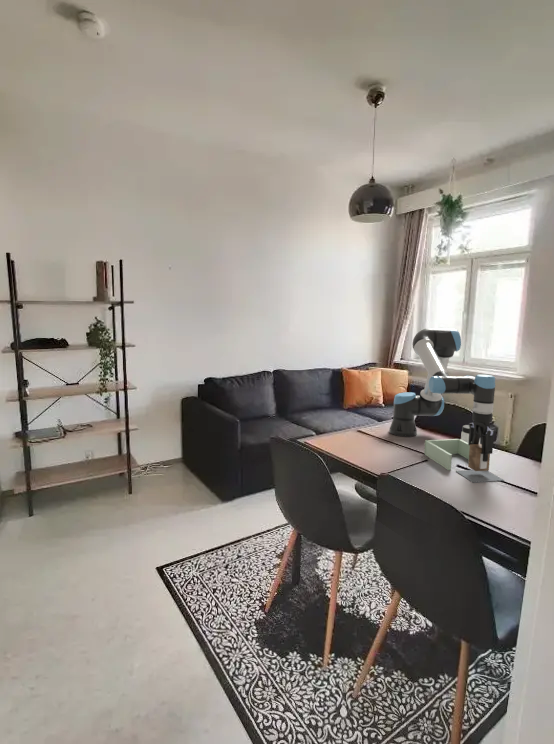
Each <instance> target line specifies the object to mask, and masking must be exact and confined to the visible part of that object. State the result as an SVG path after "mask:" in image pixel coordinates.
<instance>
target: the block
mask: <svg viewBox="0 0 554 744" xmlns="http://www.w3.org/2000/svg"><path fill="white" fill-rule="evenodd" d="M481 452H482V445H481V443H480V444H470V449H469V459H468V466H467V467H468V468H469V469H470V470H474V471H489V470H490V458H491V457H490V456H491V454H488V461H487V469H480V454H481ZM489 472H490V471H489Z"/></svg>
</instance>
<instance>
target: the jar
mask: <svg viewBox="0 0 554 744" xmlns="http://www.w3.org/2000/svg"><path fill="white" fill-rule="evenodd" d="M469 429H470V428H469V424H465V425H462V428H461V430H462V431H461V436H460V439H461V440H463V441H465V442H467V443H468V441H469ZM471 443H472V442H471ZM479 444H481V439H480V440H479Z"/></svg>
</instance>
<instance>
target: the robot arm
mask: <svg viewBox="0 0 554 744" xmlns="http://www.w3.org/2000/svg"><path fill="white" fill-rule="evenodd" d="M461 346H462V338H461V334H460V332H459V330H458V329H456V328H449V327H447V328H445V327H442V328H433V327H431V328H429V327H427V328H424V329H420V331H418V332H417V333H416V334H415V335H414V337H413V339H412V348H413V351H414V352H415V353H414V354H416V355H417V356H418V357H419V359H420V360H421V363H422V364H423V366H424V369H425V370H426V372H427V377H426V380H425V384H424V389H422V390H420V393H419V395H418V394H417V395H416V392H411V391H409V392H407V391H406V392H399V393H397V394H395V395H394V398H393V415H392V421H391V424H390V426H389V433H390V435H393V434H394V436H398V437H404V438H405V437H406V438H407V437H410V438H411V437H415V436H417V434H418V429H417V425H416V422H415V416H420V417H421V416H423V417H424V416H426V417H427V416H428V417H435V416H436V417H437V416H440V415H441V414H443V410H444V408H445V398H444V397H443V395H442V394H452V395H453V394H457V395H458V394H459V395H461V394H463V395H465V394H467V395H473V405H472V410H473V411H472V416H471V419H472V421H473V422H468V425H469V428H470V429H469V441H468V445H470V444H479V440H480V444H481V445H482V452H481V454H480V469H487V461H488V454H490V455H492V454H493V448H494V438H495V437H494V436H495V433H496V432H495V431H496V430H492V429H491V426H490V424H491V423H492V422H493V416H494V414H493V412H494V406H495V405H494V404H495V403H494V402H495V392H496V377H495V376H494V375H491V374H476V375H463V376H455V375H453V376H452V375H449V373H448V370H447V369H448V365H449V362H450V361H449V360H450V358H453V357H454V354H455V352H458V351H460V350H461ZM471 442H472V443H471Z"/></svg>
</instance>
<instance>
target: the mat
mask: <svg viewBox="0 0 554 744" xmlns="http://www.w3.org/2000/svg"><path fill="white" fill-rule="evenodd" d="M455 472H456V473H457V474H458V475H460V476H461V477H463V478H465V479H466V480H468V481H469V482H471V483H476V484H477V483H490V482H491V483H493V482H494V483H495V482H505V479H503V478H501V477H499V476H498V475H496V474H494V473H493V472H490V471H474V470H473V469H467V470H466V469H464V470H463V469H462V470H455Z"/></svg>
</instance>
